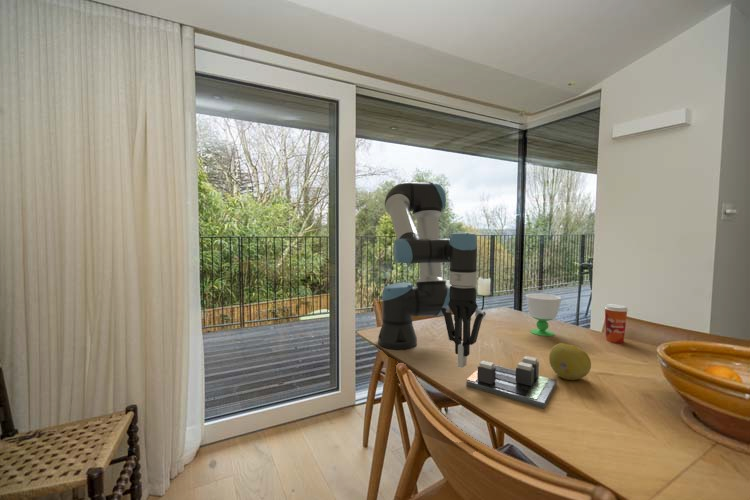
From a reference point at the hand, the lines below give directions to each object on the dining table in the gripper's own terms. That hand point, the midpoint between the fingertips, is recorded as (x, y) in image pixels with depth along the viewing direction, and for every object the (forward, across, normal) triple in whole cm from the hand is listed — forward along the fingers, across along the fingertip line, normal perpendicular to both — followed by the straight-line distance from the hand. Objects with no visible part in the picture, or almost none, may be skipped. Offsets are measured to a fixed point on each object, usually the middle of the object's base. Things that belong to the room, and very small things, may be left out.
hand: (462, 365), depth 98 cm
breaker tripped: (+3, +7, 0) cm, 8 cm away
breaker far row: (+3, +16, +11) cm, 19 cm away
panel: (+5, +12, +6) cm, 14 cm away
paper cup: (+5, +33, +70) cm, 77 cm away
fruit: (+5, +24, +22) cm, 33 cm away
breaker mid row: (+3, +16, +5) cm, 17 cm away
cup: (+5, +8, +64) cm, 64 cm away
